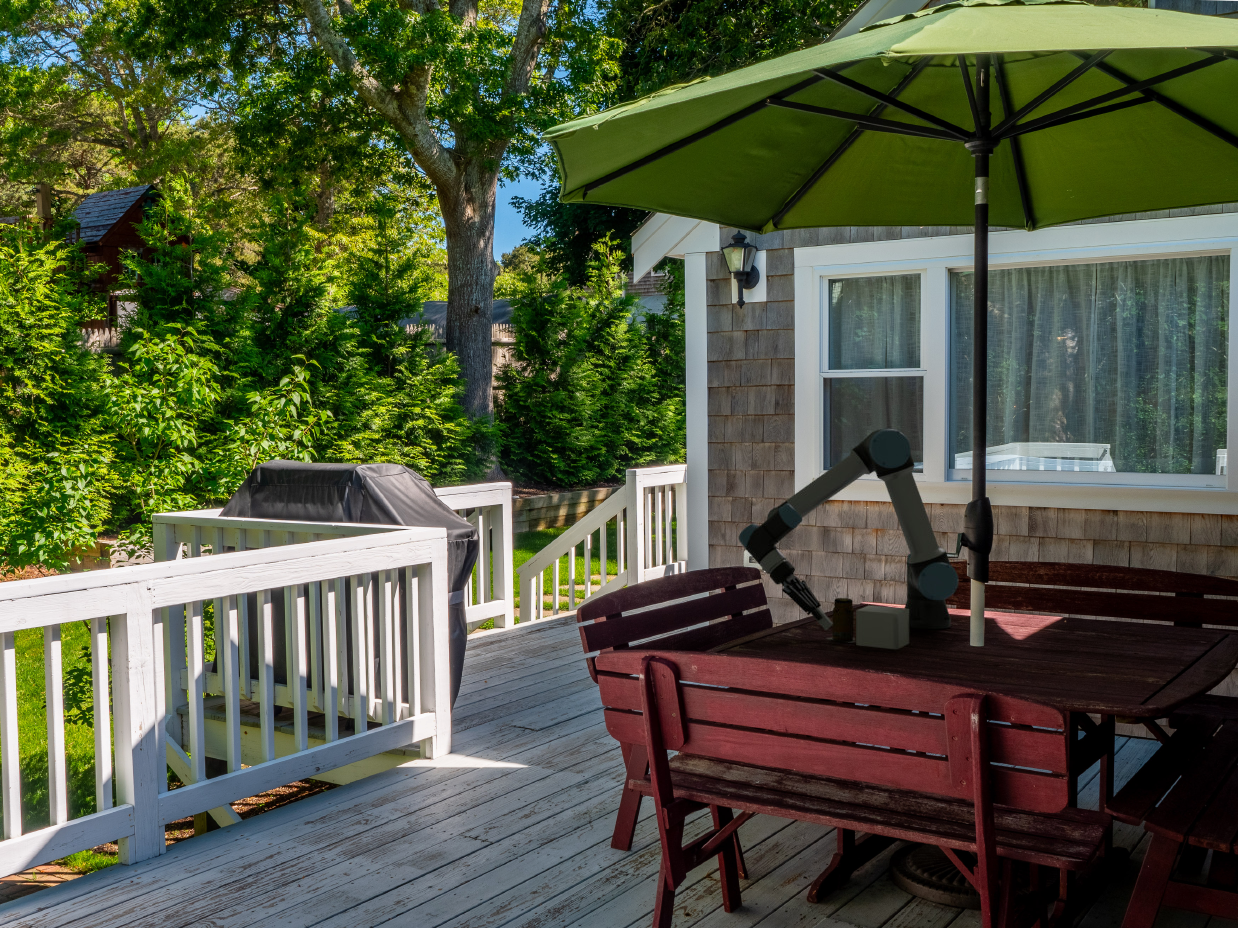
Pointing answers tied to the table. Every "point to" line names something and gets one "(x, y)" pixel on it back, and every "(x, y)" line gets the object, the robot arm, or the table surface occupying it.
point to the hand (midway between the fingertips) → (829, 626)
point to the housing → (882, 627)
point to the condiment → (843, 620)
